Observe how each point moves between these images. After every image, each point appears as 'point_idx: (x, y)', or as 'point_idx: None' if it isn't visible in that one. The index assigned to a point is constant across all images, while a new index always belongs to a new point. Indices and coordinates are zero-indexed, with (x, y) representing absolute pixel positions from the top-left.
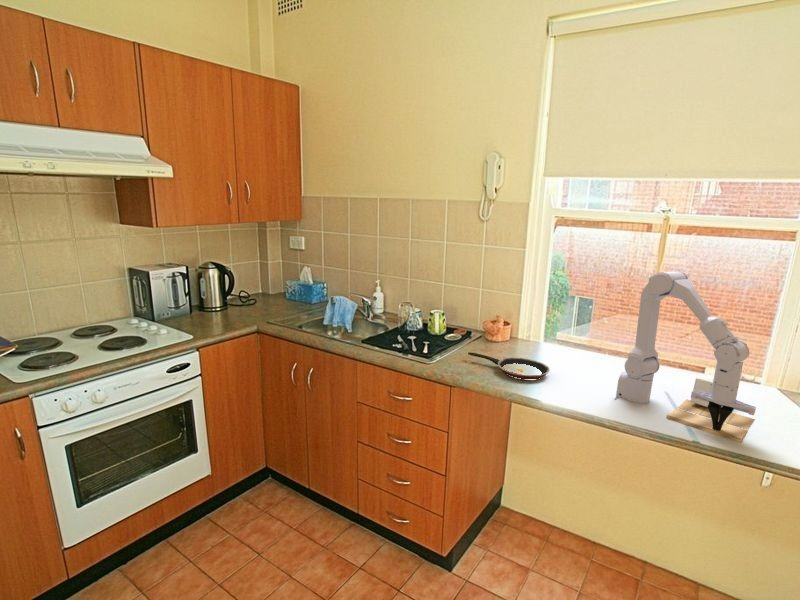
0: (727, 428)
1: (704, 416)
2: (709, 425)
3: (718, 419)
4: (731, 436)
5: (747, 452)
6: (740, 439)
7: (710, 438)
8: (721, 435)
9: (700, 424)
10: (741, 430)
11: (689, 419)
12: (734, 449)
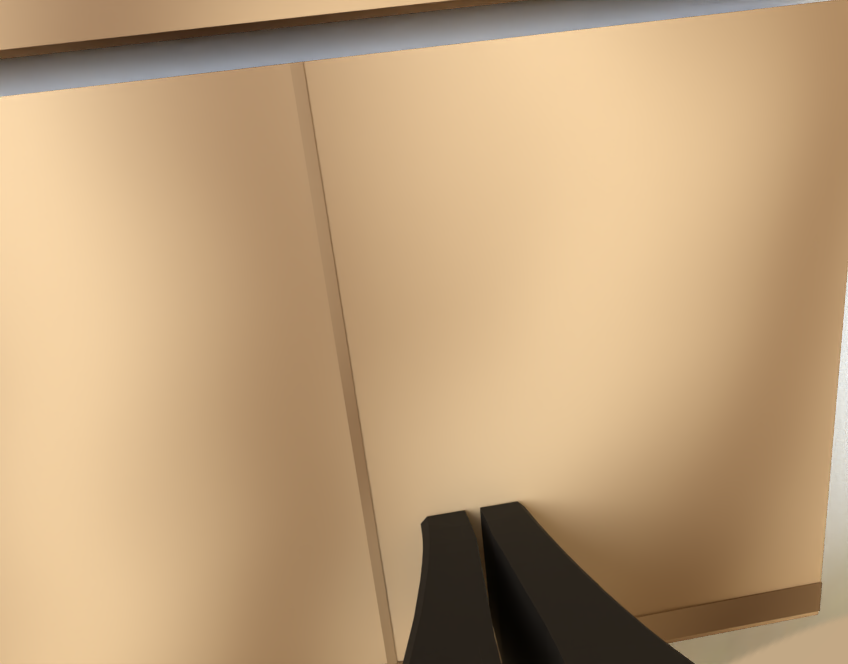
0: (579, 330)
1: (14, 44)
2: (341, 522)
3: (488, 612)
4: (702, 630)
5: (835, 588)
6: (811, 614)
7: None
8: None
9: (241, 637)
10: (775, 147)
11: (13, 603)
12: (715, 641)
